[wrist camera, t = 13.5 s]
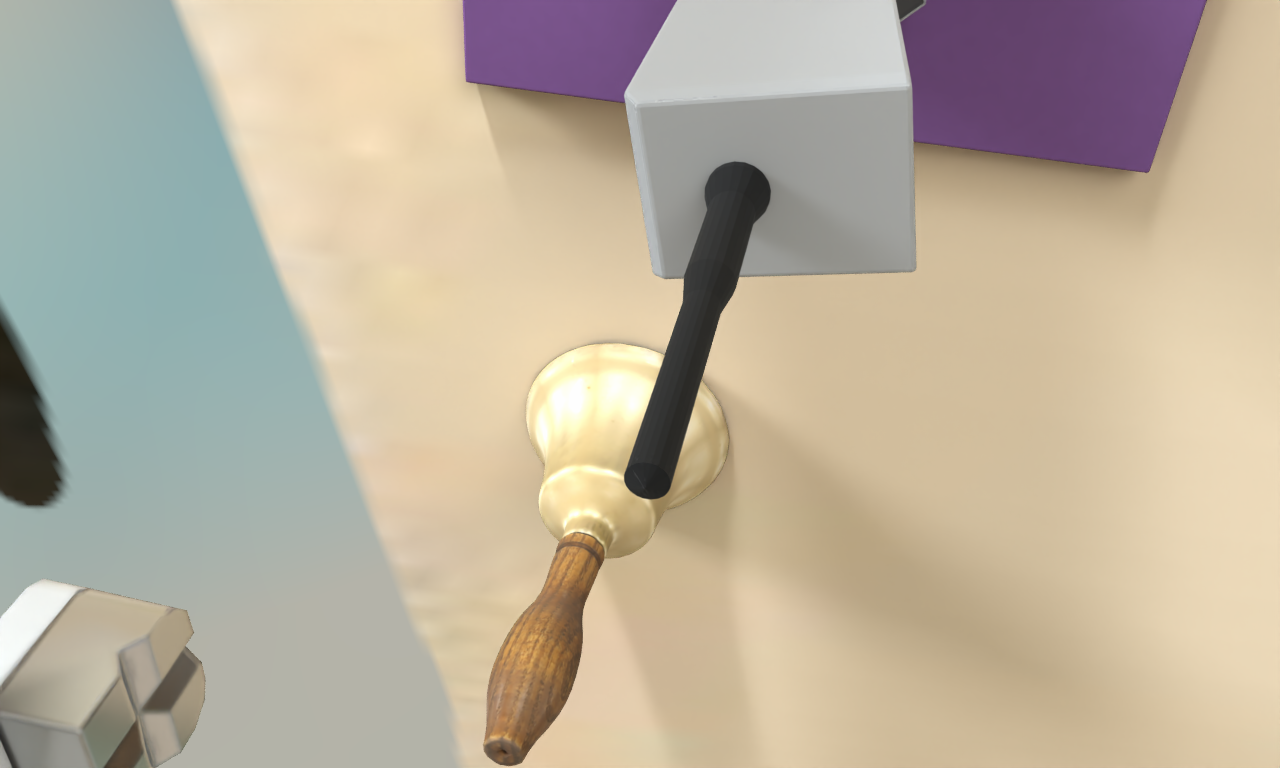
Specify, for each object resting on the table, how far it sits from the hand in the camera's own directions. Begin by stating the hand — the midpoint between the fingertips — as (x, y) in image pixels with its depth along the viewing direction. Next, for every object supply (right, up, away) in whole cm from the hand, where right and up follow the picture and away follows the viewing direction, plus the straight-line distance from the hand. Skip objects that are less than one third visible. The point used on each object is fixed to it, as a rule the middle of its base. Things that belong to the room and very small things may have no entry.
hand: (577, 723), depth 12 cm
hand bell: (0, +2, +36) cm, 36 cm away
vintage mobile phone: (+6, +16, +23) cm, 29 cm away
